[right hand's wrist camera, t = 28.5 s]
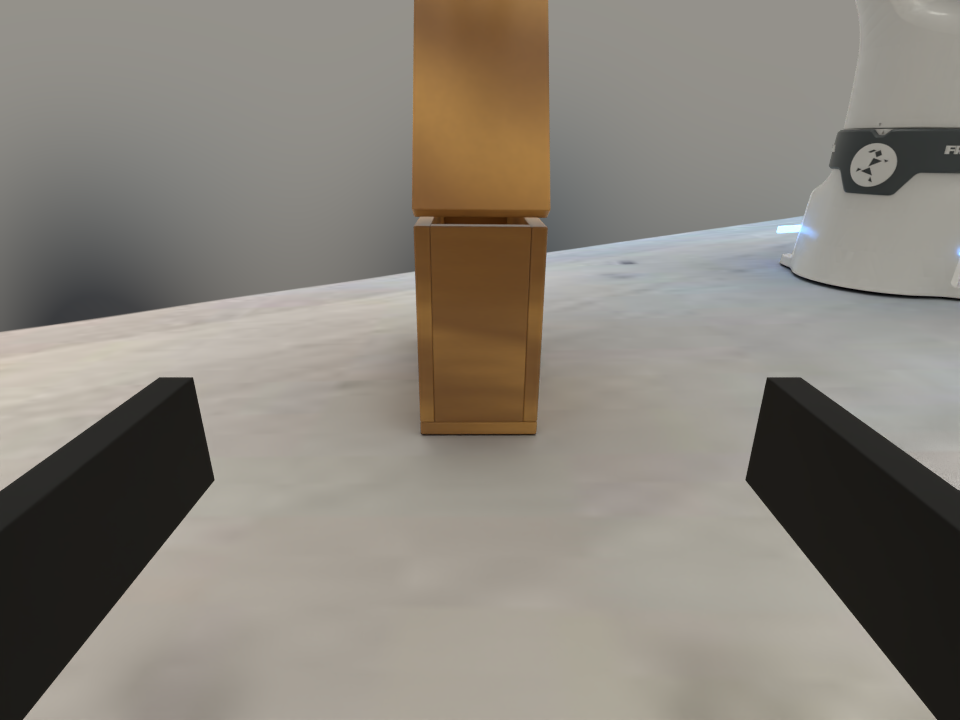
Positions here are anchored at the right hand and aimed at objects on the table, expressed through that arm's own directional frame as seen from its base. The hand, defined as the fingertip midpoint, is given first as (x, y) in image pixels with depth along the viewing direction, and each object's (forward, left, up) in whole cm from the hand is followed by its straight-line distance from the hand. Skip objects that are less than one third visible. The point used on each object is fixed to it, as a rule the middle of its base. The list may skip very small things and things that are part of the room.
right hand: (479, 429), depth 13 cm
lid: (+13, +7, +10) cm, 18 cm away
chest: (+16, +9, -6) cm, 20 cm away
